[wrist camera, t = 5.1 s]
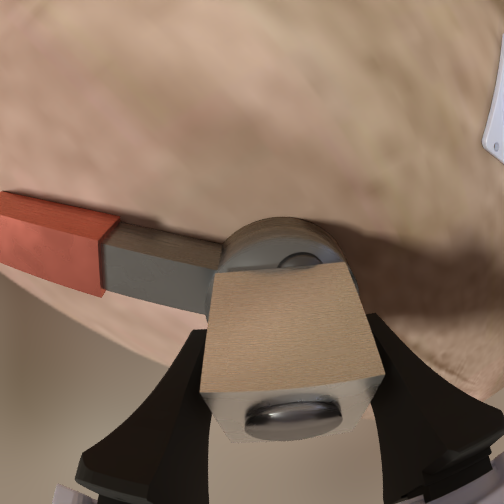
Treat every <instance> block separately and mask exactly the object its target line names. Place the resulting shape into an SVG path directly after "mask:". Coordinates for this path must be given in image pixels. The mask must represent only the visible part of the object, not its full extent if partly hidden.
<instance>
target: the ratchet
mask: <svg viewBox="0 0 504 504" xmlns="http://www.w3.org/2000/svg"><path fill="white" fill-rule="evenodd" d="M338 262H345V263H346V265H347V268H348V270H349V273H350V275H351V278H352V280H353V283H354V285H355V288H356V290H357V293H358V296H359V288H358V285H357V282H356V279H355V277H354V275H353V273H352V271H351V268H350V266H349V264H348V262H347V260H346V258H345V256H344V254H343V252H342V250H341V249H340V247H339V245H338V243H337V242H336V241H335V240H334V238H333V237H332V236H331V235H330V234H329V233H328V232H326V231H325V230H324V229H322V228H321V227H319V226H317V225H315V224H313V223H311V222H308V221H305V220H302V219H297V218H290V217H275V218H268V219H262V220H259V221H256V222H253V223H251V224H248V225H246V226H244V227H242V228H241V229H239V230H238V231H236V232H235V233H234V234H232V235H231V236H230V237H229V238H228V239H227V240H226V241H225V242H224V243H223V244H222V245H221V244H217V243H212V242H208V241H203V240H199V239H194V238H190V237H186V236H181V235H177V234H172V233H168V232H163V231H159V230H154V229H150V228H145V227H141V226H136V225H132V224H127V223H123V222H120V216H116V215H111V214H107V213H102V212H97V211H93V210H88V209H83V208H79V207H74V206H69V205H65V204H60V203H55V202H51V201H46V200H41V199H37V198H32V197H27V196H22V195H18V194H13V193H8V192H3V191H1V192H0V263H3V264H5V265H8V266H10V267H13V268H15V269H18V270H21V271H23V272H26V273H29V274H31V275H34V276H37V277H40V278H42V279H45V280H48V281H51V282H54V283H57V284H60V285H63V286H66V287H69V288H72V289H75V290H78V291H81V292H84V293H87V294H91V295H94V296H97V297H101V298H102V296H103V295H104V293H105V291H106V290H107V291H111V292H115V293H118V294H122V295H125V296H129V297H133V298H137V299H141V300H144V301H148V302H152V303H156V304H160V305H164V306H169V307H173V308H177V309H181V310H186V311H190V312H195V313H199V314H204V315H206V319H207V322H208V320H209V313H210V305H211V298H212V291H213V284H214V277H215V273H226V272H238V271H250V270H262V269H273V268H285V267H296V266H307V265H317V264H328V263H338Z"/></svg>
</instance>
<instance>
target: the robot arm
mask: <svg viewBox="0 0 504 504" xmlns="http://www.w3.org/2000/svg"><path fill="white" fill-rule="evenodd" d="M494 144H495V148H494ZM482 145H483V148H484V149H485V150H486V151H488V152H489V153H490V154H491V155H493V156H494V157H495V158H496V159H498V160H499V161H500V162H501V163H502V164H504V33H503V36H502V46H501V55H500V62H499V69H498V75H497V80H496V86H495V91H494V95H493V100H492V104H491V108H490V113H489V116H488V120H487V124H486V128H485V131H484V134H483V138H482ZM366 317H367V320H368V323H369V326H370V329H371V331H372V334H373V337H374V340H375V343H376V346H377V349H378V352H379V355H380V358H381V362H382V365H383V368H384V371H385V376H384V378H383V380H382V382H381V384H380V386H379V387H378V389H377V391H376V393H375V395H374V396H373V398H372V400H371V402H370V403H371V406H372V409H373V412H374V416H375V420H376V425H377V430H378V436H379V443H380V451H381V460H382V472H383V501H384V504H396V503H397V504H504V452H502V453H501V454H500V455H498V456H497V457H496V458H495V459H494V460H492V461H490V459H489V456H488V455H490V454H491V449H490V446H491V445H492V444H493V443H495V442H496V441H497V440H498V439H499V438H500V437H502V436H503V435H504V415H503V413H502V411H501V410H499V409H497V408H495V407H492V406H490V405H487V404H485V403H483V402H481V401H479V400H477V399H475V398H473V397H471V396H470V395H468V394H466V393H464V392H463V391H461V390H460V389H458V388H457V387H455V386H454V385H452V384H450V383H449V382H448V381H446V380H445V379H443V378H442V377H441V376H440V375H438V374H437V373H436V372H434V371H433V370H432V369H431V368H430V367H428V366H427V365H426V364H425V363H424V362H423V361H422V360H421V359H420V358H418V357H417V356H416V355H415V354H414V353H413V352H412V351H411V350H410V349H409V348H408V347H407V346H406V345H405V344H404V343H403V342H402V341H401V340H400V339H399V337H398V336H397V335H396V334H395V333H394V332H393V331H392V330H391V329H390V328H389V327H388V326H387V325H386V323H385V322H384V321H383V320H382V319H381V318H380V317H379V316H378V315H377V314H376V313H372V314H366ZM206 335H207V329H201V330H193V331H192V332H191V333H190V335H189V337H188V339H187V340H186V342H185V344H184V345H183V347H182V349H181V351H180V352H179V354H178V355H177V357H176V359H175V360H174V362H173V363H172V365H171V366H170V368H169V369H168V371H167V372H166V374H165V376H164V377H163V378H162V379H161V381H160V382H159V384H158V385H157V386H156V387H155V389H154V390H153V391H152V393H151V394H150V395H149V396H148V397H147V399H146V400H145V401H144V402H143V403H142V404H141V405H140V406H139V408H138V409H137V410H136V411H135V412H134V413H133V414H132V415H131V416H130V417H129V418H128V419H127V420H125V421H124V422H123V423H122V424H121V425H120V426H119V427H117V428H116V429H115V430H114V431H113V432H112V433H110V434H109V435H108V436H107V437H105V438H104V439H103V440H101V441H100V442H98V443H97V444H95V445H94V446H92V447H91V448H89V449H88V450H86V451H85V452H83V453H82V456H81V458H80V461H79V465H78V469H77V473H76V476H75V481H76V482H77V483H78V484H80V485H82V486H84V487H86V488H88V489H89V490H92V491H94V492H96V493H98V494H99V497H98V500H95V499H92V498H91V497H89V496H87V495H84V494H82V493H80V492H78V491H75V490H73V489H70V488H68V487H66V486H63V485H61V484H57V486H56V490H55V493H54V497H53V502H52V504H209V494H208V444H209V441H208V440H209V430H210V423H211V416H212V412H211V411H210V409H209V407H208V406H207V404H206V402H205V401H204V399H203V397H202V396H201V394H200V384H201V376H202V367H203V359H204V351H205V343H206ZM405 500H406V501H405ZM402 501H403V502H402ZM399 502H400V503H399Z"/></svg>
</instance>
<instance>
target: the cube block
mask: <svg viewBox="0 0 504 504" xmlns="http://www.w3.org/2000/svg"><path fill="white" fill-rule="evenodd" d="M384 376H385V371H384V368H383V365H382V362H381V358H380V355H379V352H378V349H377V346H376V343H375V340H374V337H373V334H372V331H371V329H370V326H369V323H368V320H367V317H366V315H365V312H364V309H363V306H362V304H361V301H360V298H359V296H358V293H357V290H356V288H355V285H354V283H353V280H352V278H351V275H350V273H349V270H348V268H347V265H346V263H345V262H338V263H328V264H317V265H307V266H296V267H285V268H273V269H262V270H250V271H238V272H226V273H215V277H214V284H213V291H212V298H211V305H210V313H209V320H208V327H207V335H206V343H205V351H204V359H203V367H202V376H201V384H200V394H201V396H202V397H203V399H204V401H205V402H206V404H207V406H208V407H209V409H210V411H211V412H212V414H213V416H214V417H215V419H216V420H217V422H218V423H219V425H220V427H221V428H222V430H223V431H224V433H225V434H226V436H227V437H228V439H229V440H230V442H233V443H234V442H268V441H293V440H302V439H307V438H313V437H320V436H327V435H334V434H339V433H345V432H351V431H353V430H354V428H355V427H356V425H357V423H358V422H359V420H360V419H361V417H362V415H363V414H364V412H365V410H366V409H367V407H368V405H369V403H370V402H371V400H372V398H373V396H374V395H375V393H376V391H377V389H378V387H379V386H380V384H381V382H382V380H383V378H384Z"/></svg>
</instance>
